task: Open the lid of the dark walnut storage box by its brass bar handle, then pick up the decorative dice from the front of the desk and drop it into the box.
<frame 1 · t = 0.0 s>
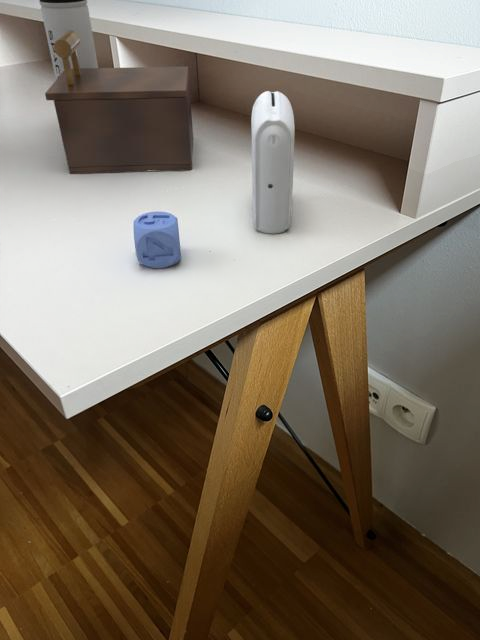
lid: (119, 60, 69), point 12 cm above the table, hinge at 0.0°
travel mug: (87, 127, 87), on the table
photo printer: (271, 215, 62), on the table
decorative dice: (160, 260, 54), on the table
storage box: (135, 154, 76), on the table
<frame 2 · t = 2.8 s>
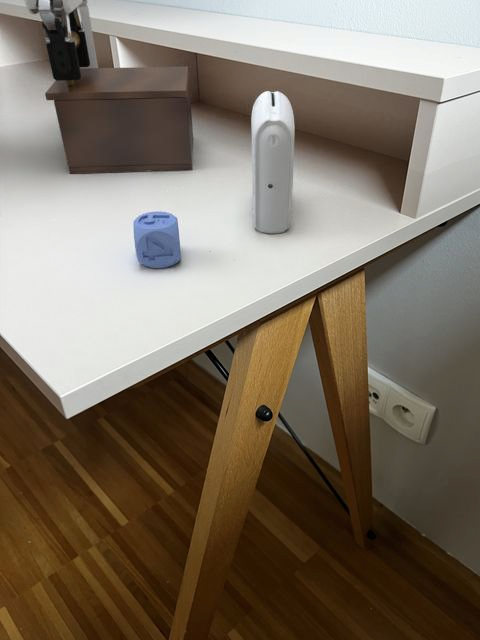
hand: (72, 71, 69), 11 cm above the table, tool pointing down, fingers closed on lid, 6 cm apart
lid: (119, 60, 69), point 12 cm above the table, hinge at 0.0°, touching gripper
everything else where it was.
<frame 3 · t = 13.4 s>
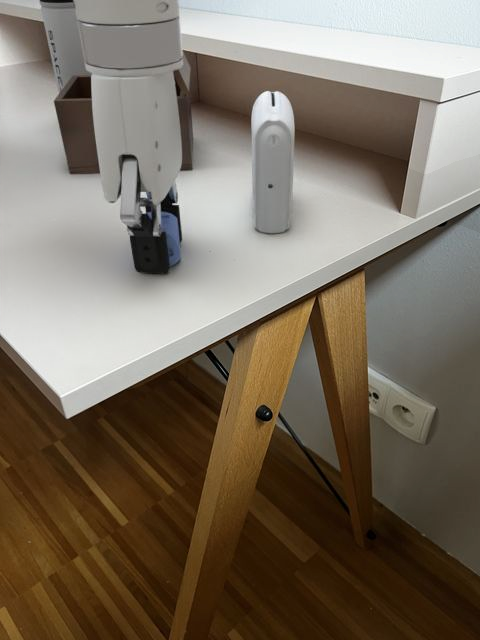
hand: (159, 254, 54), 0 cm above the table, tool pointing down, fingers closed on decorative dice, 4 cm apart
lid: (174, 2, 66), point 18 cm above the table, hinge at 68.0°
decorative dice: (160, 260, 54), on the table, touching gripper
everything else where it was.
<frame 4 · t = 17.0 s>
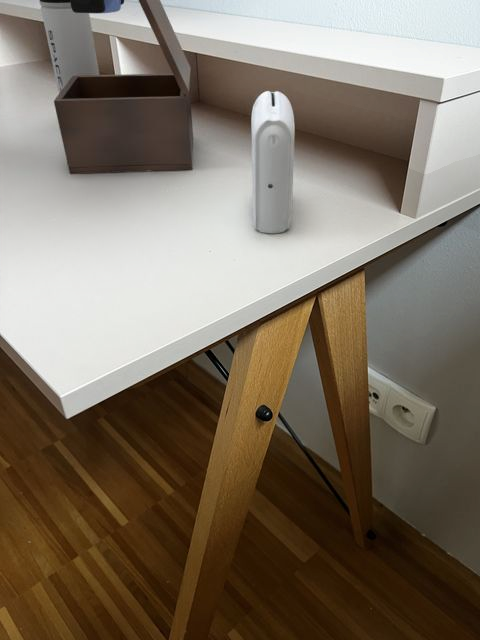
hand: (99, 6, 56), 19 cm above the table, tool pointing down, fingers closed on decorative dice, 4 cm apart
lid: (174, 2, 66), point 18 cm above the table, hinge at 67.8°, touching gripper
decorative dice: (100, 12, 56), point 18 cm above the table, touching gripper
everything else where it was.
when the fingers open (7 cm above the table, at t = 21.5 s): decorative dice drops 6 cm, resting on storage box.
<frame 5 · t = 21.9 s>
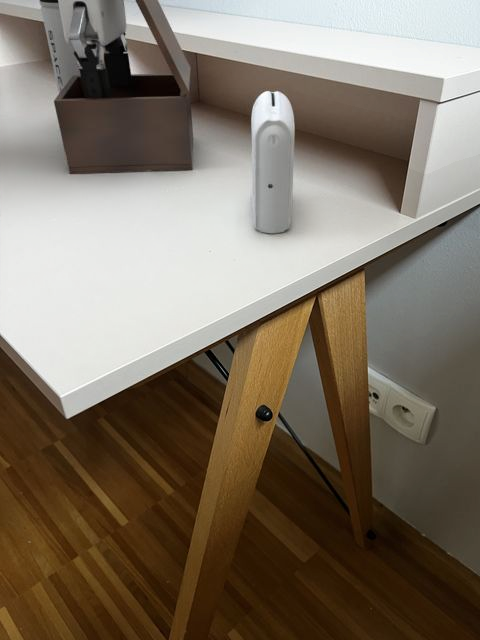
hand: (110, 94, 72), 8 cm above the table, tool pointing down, fingers open, 8 cm apart
lid: (172, 3, 66), point 18 cm above the table, hinge at 66.1°, touching arm
decorative dice: (123, 150, 76), point 1 cm above the table, touching storage box
everything else where it was.
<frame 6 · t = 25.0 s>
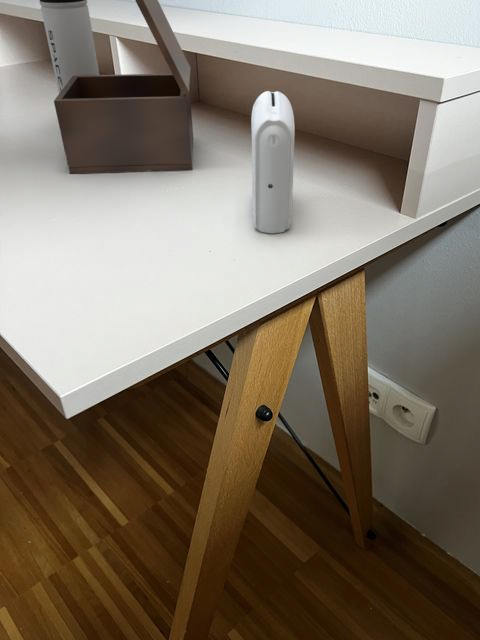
lid: (172, 3, 66), point 18 cm above the table, hinge at 66.1°
everything else where it was.
at the end: lid at +66° (first picture: +0°); decorative dice inside the target area in the storage box (1.6 cm from its centre), point 0.6 cm above the storage box's base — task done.
